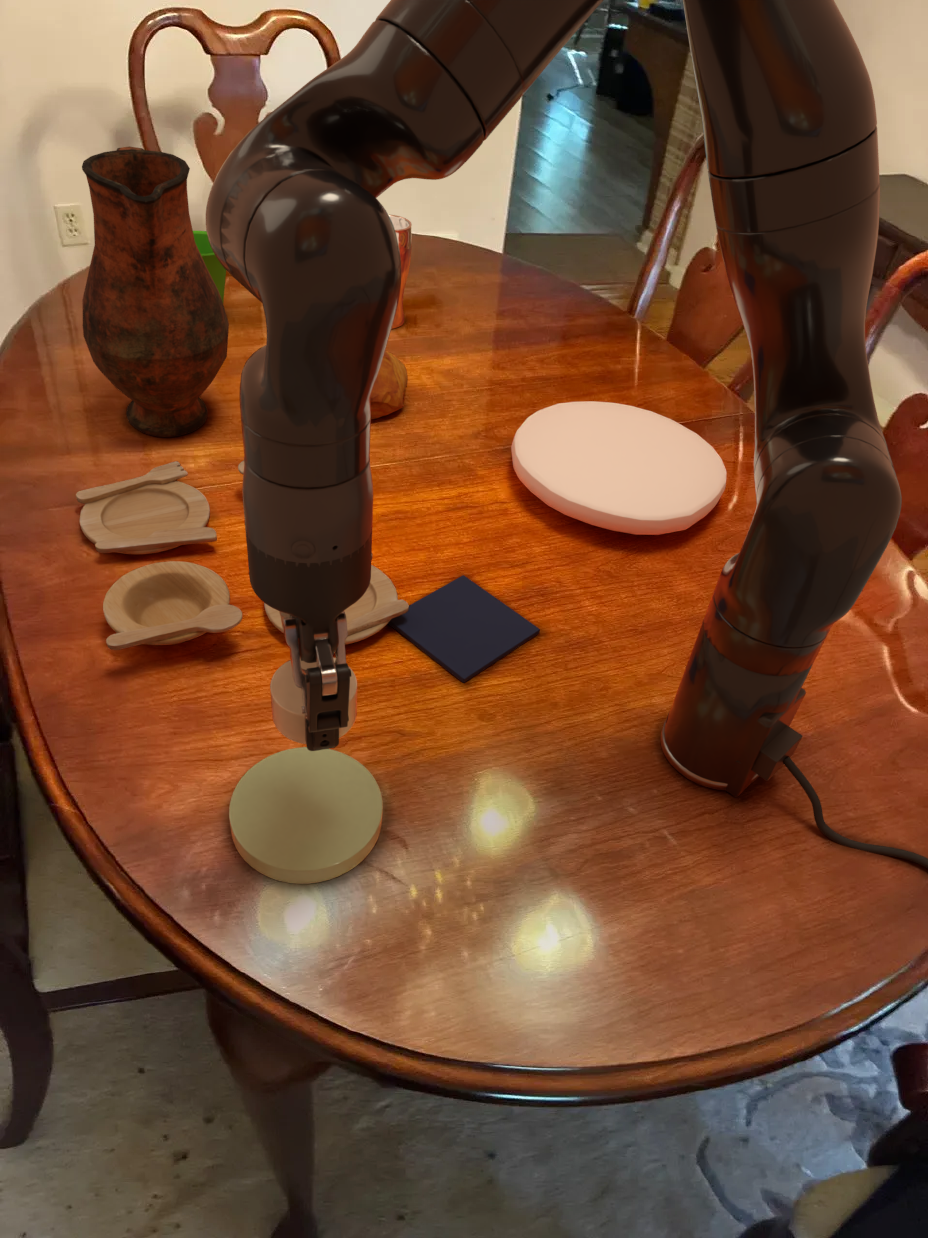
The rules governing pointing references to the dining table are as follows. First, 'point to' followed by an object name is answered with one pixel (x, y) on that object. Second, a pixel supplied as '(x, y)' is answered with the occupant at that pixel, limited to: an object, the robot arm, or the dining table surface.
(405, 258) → the beer glass
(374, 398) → the croissant
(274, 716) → the beige short cylinder
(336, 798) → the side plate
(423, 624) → the felt mat
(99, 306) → the pitcher
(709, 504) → the white thick round disc
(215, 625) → the tableware set
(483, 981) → the dining table surface
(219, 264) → the cup
